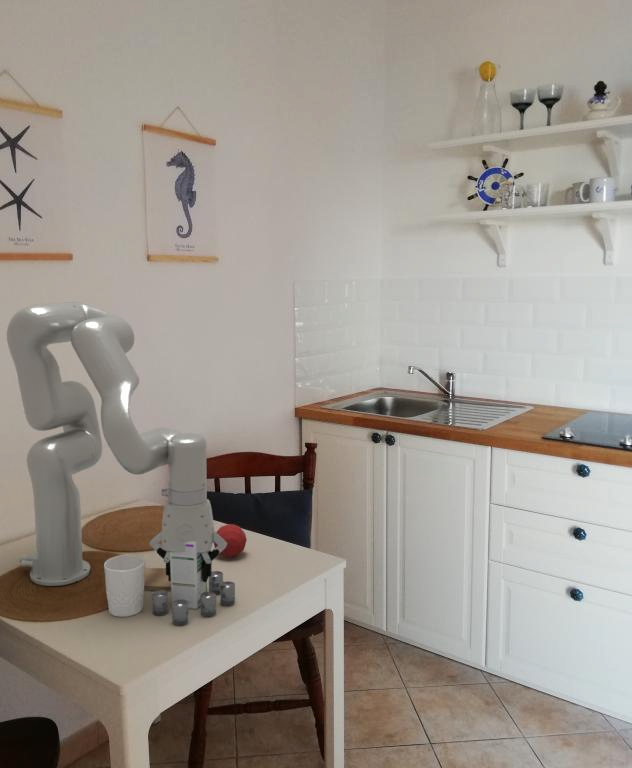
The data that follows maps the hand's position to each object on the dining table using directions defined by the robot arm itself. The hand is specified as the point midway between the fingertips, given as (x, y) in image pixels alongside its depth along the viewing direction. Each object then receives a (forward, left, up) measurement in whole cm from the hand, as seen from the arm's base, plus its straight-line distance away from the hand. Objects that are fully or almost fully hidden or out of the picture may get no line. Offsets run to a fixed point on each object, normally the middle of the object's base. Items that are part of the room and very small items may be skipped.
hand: (188, 578), depth 146 cm
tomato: (+5, +24, -5) cm, 25 cm away
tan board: (-10, +9, -5) cm, 14 cm away
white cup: (-12, -4, -5) cm, 14 cm away
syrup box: (0, 0, -5) cm, 5 cm away
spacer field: (+2, 0, -5) cm, 5 cm away
